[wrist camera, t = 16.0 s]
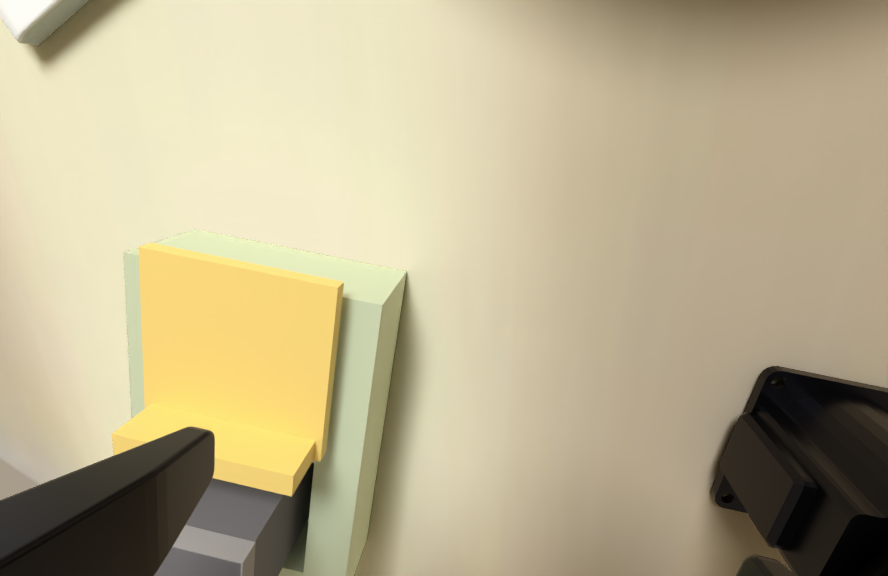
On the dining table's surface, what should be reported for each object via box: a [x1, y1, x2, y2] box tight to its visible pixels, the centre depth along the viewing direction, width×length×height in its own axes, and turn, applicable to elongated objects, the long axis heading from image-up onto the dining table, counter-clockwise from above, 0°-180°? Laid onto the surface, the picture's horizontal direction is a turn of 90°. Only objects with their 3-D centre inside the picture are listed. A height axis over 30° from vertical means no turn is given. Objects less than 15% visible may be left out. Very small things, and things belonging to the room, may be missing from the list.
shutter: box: [112, 243, 344, 497], centre depth 16 cm, size 6×6×2 cm
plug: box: [154, 463, 314, 576], centre depth 19 cm, size 4×4×7 cm
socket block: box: [123, 229, 407, 576], centre depth 20 cm, size 9×14×4 cm, turn 170°
